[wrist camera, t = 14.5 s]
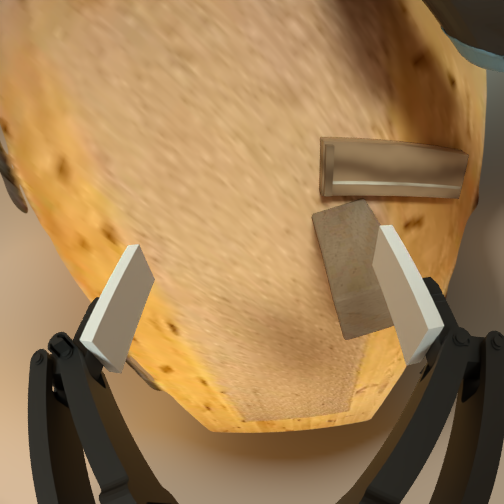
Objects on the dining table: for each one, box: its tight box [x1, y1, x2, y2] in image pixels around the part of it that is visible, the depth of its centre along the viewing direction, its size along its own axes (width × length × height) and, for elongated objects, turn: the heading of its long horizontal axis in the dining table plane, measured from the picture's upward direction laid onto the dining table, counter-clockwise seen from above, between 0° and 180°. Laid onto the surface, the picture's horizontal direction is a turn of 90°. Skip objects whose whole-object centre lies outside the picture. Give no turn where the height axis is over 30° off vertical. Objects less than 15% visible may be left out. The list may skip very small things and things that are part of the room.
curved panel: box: [319, 137, 469, 199], centre depth 39 cm, size 9×28×4 cm, turn 94°
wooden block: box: [312, 199, 394, 340], centre depth 41 cm, size 10×10×20 cm
